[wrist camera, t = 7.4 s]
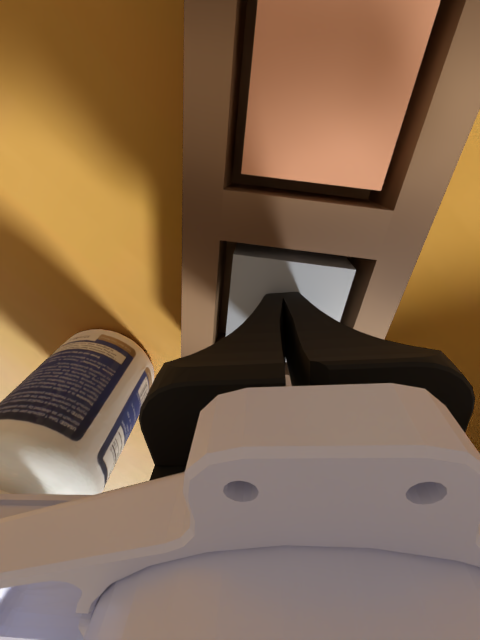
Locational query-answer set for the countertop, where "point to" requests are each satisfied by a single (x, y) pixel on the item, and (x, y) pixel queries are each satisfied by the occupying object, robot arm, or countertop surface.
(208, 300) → the board
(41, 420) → the pill bottle
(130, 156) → the countertop surface
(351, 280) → the key slate
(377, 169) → the salmon orange square block
